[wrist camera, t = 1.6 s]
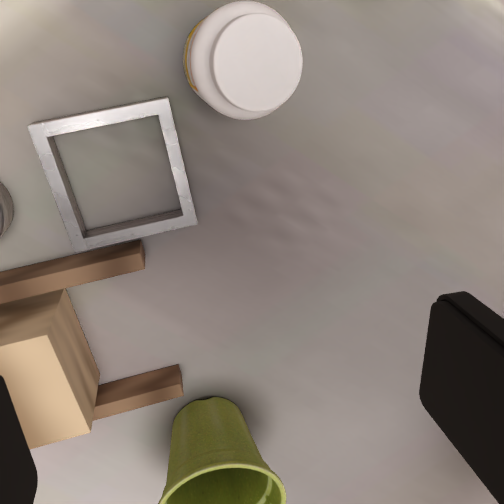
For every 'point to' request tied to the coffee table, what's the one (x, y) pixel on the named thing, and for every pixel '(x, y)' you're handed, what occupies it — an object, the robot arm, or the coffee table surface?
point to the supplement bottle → (243, 60)
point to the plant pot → (217, 459)
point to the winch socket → (44, 143)
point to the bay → (66, 349)
